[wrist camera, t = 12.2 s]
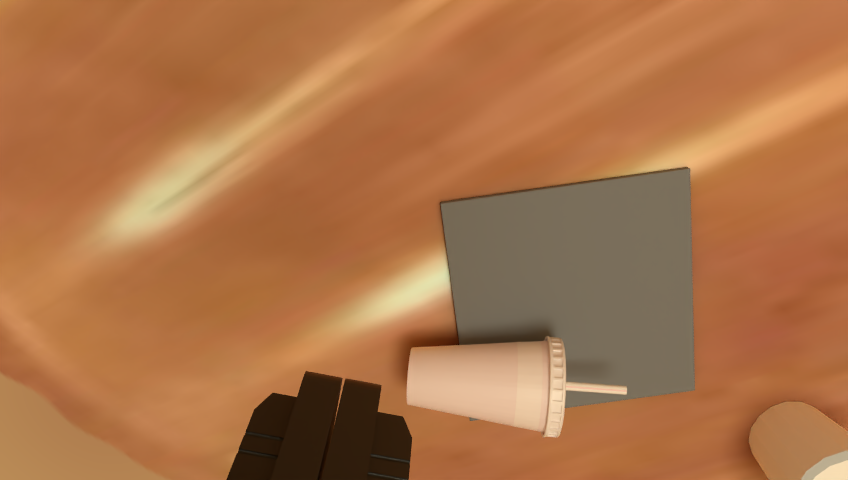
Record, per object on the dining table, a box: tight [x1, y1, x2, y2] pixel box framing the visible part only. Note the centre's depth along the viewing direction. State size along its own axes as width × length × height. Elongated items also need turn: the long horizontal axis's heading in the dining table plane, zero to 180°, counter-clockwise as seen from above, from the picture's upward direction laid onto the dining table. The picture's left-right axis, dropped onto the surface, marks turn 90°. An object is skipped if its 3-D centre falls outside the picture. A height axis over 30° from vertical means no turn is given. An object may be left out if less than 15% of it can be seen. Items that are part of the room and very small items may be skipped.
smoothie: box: [407, 336, 627, 438], centre depth 43 cm, size 6×6×14 cm
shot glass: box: [749, 402, 848, 480], centre depth 46 cm, size 7×7×7 cm
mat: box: [440, 167, 695, 421], centre depth 45 cm, size 16×16×1 cm
